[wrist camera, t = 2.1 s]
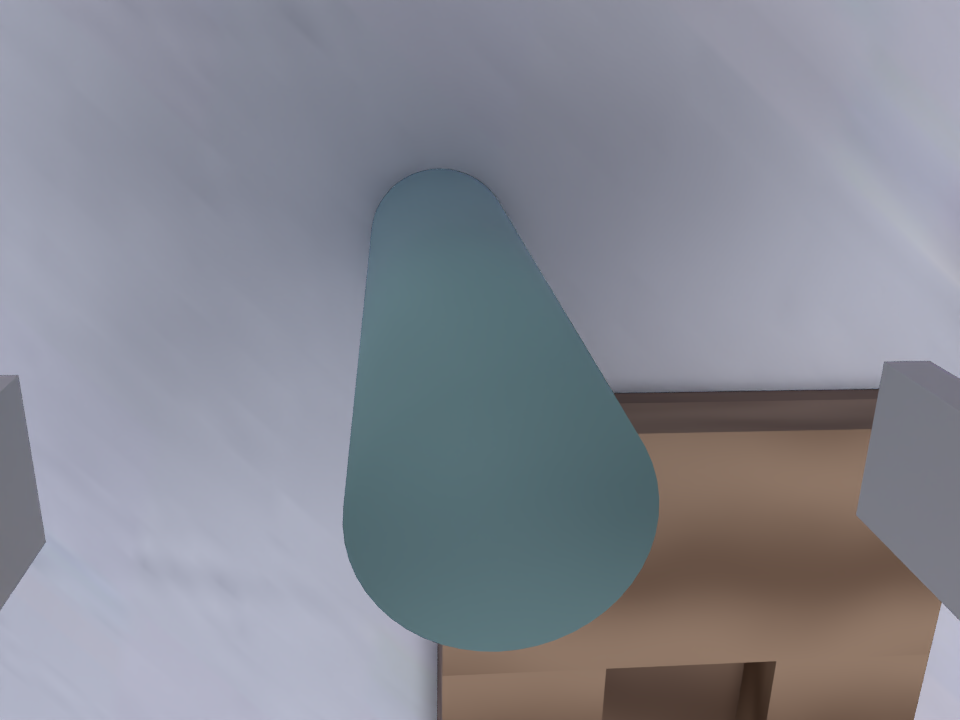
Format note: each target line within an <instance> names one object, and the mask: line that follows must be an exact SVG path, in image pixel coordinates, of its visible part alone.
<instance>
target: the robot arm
mask: <svg viewBox="0 0 960 720" xmlns="http://www.w3.org/2000/svg"><path fill="white" fill-rule="evenodd" d="M856 515H857V517H858V518H859V519H860V520H861V521H862V522H863V523H864V524H865V525H866V526H867V527H868V528H869V529H870V530H871V531H872V532H873V533H874V534H875V535H876V536H877V537H878V538H879V539H880V540H881V541H882V542H883V543H884V544H885V545H886V546H887V547H888V548H889V549H890V550H891V551H892V552H893V553H894V554H895V555H896V556H897V557H898V558H899V559H900V560H901V561H902V562H903V563H904V564H905V565H906V566H907V567H908V568H909V569H910V571H911V572H912V573H913V574H914V575H915V576H916V577H917V578H918V579H919V580H920V581H921V582H922V583H923V584H924V585H925V586H926V587H927V588H928V589H929V590H930V591H931V592H932V593H933V594H934V595H935V596H936V597H937V598H938V599H939V600H940V601H941V602H942V603H943V604H944V605H945V606H946V607H947V608H948V609H949V610H950V611H951V612H952V613H953V614H954V615H955V616H956V617H957V618H958V619H959V620H960V379H959V378H957V377H956V376H954V375H952V374H951V373H949V372H947V371H946V370H944V369H942V368H941V367H939V366H937V365H936V364H934V363H932V362H931V361H892V362H884V365H883V371H882V376H881V382H880V387H879V392H878V398H877V403H876V409H875V414H874V420H873V425H872V430H871V436H870V441H869V447H868V452H867V458H866V463H865V469H864V474H863V479H862V485H861V490H860V496H859V501H858V507H857V512H856ZM45 543H46V540H45V534H44V528H43V522H42V516H41V510H40V504H39V498H38V491H37V485H36V479H35V473H34V467H33V461H32V455H31V449H30V443H29V437H28V431H27V425H26V419H25V412H24V406H23V400H22V394H21V388H20V382H19V376H18V375H0V610H1V609H2V607H3V606H4V604H5V603H6V601H7V600H8V598H9V597H10V595H11V594H12V592H13V591H14V589H15V588H16V586H17V585H18V583H19V582H20V580H21V579H22V577H23V576H24V574H25V573H26V571H27V570H28V568H29V567H30V565H31V564H32V562H33V561H34V559H35V558H36V556H37V555H38V553H39V552H40V550H41V549H42V547H43V546H44V544H45Z"/></svg>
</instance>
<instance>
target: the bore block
mask: <svg viewBox="0 0 960 720" xmlns="http://www.w3.org/2000/svg"><path fill="white" fill-rule="evenodd" d="M878 392H879V389H869V390H805V391H741V392H677V393H614V395H615V397H616V398H617V400H618V402H619V403H620V405H621V407H622V408H623V410H624V412H625V413H626V415H627V417H628V418H629V420H630V422H631V423H632V425H633V427H634V428H635V430H636V432H637V433H638V435H639V437H640V439H641V440H642V442H643V444H644V445H645V447H646V449H647V452H648V454H649V456H650V458H651V461H652V463H653V467H654V470H655V474H656V478H657V483H658V491H659V518H658V523H657V529H656V534H655V537H654V540H653V544H652V547H651V550H650V552H649V554H648V556H647V559H646V561H645V563H644V565H643V567H642V569H641V570H640V572H639V573H638V575H637V576H636V578H635V579H634V581H633V583H632V584H631V585H630V586H629V587H628V589H627V590H626V591H625V592H624V593H623V595H622V596H621V597H620V598H619V599H618V600H617V601H616V602H615V603H614V604H613V605H612V606H611V607H609V608H608V609H607V610H606V611H605V612H604V613H602V614H601V615H600V616H598V617H597V618H596V619H594V620H593V621H591V622H590V623H588V624H587V625H585V626H583V627H581V628H580V629H578V630H576V631H575V632H573V633H570V634H568V635H566V636H564V637H561V638H559V639H557V640H554V641H551V642H548V643H545V644H541V645H538V646H534V647H529V648H524V649H519V650H511V651H500V652H488V651H472V650H464V649H458V648H454V647H450V646H445V645H441V644H439V643H438V674H437V720H914V716H915V712H916V708H917V704H918V699H919V695H920V691H921V687H922V683H923V678H924V674H925V670H926V666H927V662H928V657H929V653H930V649H931V645H932V641H933V636H934V632H935V628H936V624H937V620H938V615H939V611H940V607H941V603H942V602H941V601H940V600H939V599H938V598H937V597H936V596H935V595H934V594H933V593H932V592H931V591H930V590H929V589H928V588H927V587H926V586H925V585H924V584H923V583H922V582H921V581H920V580H919V579H918V578H917V577H916V576H915V575H914V574H913V573H912V572H911V571H910V569H909V568H908V567H907V566H906V565H905V564H904V563H903V562H902V561H901V560H900V559H899V558H898V557H897V556H896V555H895V554H894V553H893V552H892V551H891V550H890V549H889V548H888V547H887V546H886V545H885V544H884V543H883V542H882V541H881V540H880V539H879V538H878V537H877V536H876V535H875V534H874V533H873V532H872V531H871V530H870V529H869V528H868V527H867V526H866V525H865V524H864V523H863V522H862V521H861V520H860V519H859V518H858V517H857V515H856V512H857V507H858V501H859V496H860V490H861V485H862V479H863V474H864V469H865V463H866V458H867V452H868V447H869V441H870V436H871V430H872V425H873V420H874V414H875V409H876V403H877V398H878Z"/></svg>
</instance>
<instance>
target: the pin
mask: <svg viewBox="0 0 960 720" xmlns="http://www.w3.org/2000/svg"><path fill="white" fill-rule="evenodd" d="M658 518H659V491H658V483H657V478H656V474H655V470H654V467H653V463H652V461H651V458H650V456H649V454H648V452H647V449H646V447H645V445H644V444H643V442H642V440H641V439H640V437H639V435H638V433H637V432H636V430H635V428H634V427H633V425H632V423H631V422H630V420H629V418H628V417H627V415H626V413H625V412H624V410H623V408H622V407H621V405H620V403H619V402H618V400H617V398H616V397H615V395H614V393H613V392H612V390H611V388H610V387H609V385H608V383H607V382H606V380H605V378H604V377H603V375H602V373H601V372H600V370H599V368H598V367H597V365H596V363H595V362H594V360H593V358H592V357H591V355H590V353H589V352H588V350H587V348H586V347H585V345H584V343H583V342H582V340H581V338H580V337H579V335H578V333H577V332H576V330H575V328H574V327H573V325H572V323H571V322H570V320H569V318H568V317H567V315H566V313H565V312H564V310H563V308H562V307H561V305H560V303H559V302H558V300H557V298H556V297H555V295H554V293H553V292H552V290H551V288H550V287H549V285H548V283H547V282H546V280H545V278H544V277H543V275H542V273H541V272H540V270H539V268H538V267H537V265H536V263H535V262H534V260H533V258H532V257H531V255H530V253H529V252H528V250H527V248H526V247H525V245H524V243H523V242H522V240H521V238H520V237H519V235H518V233H517V232H516V230H515V228H514V227H513V225H512V223H511V221H510V220H509V218H508V216H507V215H506V213H505V211H504V210H503V208H502V206H501V205H500V203H499V202H498V200H497V198H496V197H495V196H494V194H493V193H492V192H491V191H490V190H489V189H488V188H487V187H486V186H485V185H484V184H483V183H481V182H480V181H478V180H477V179H475V178H474V177H472V176H470V175H468V174H465V173H462V172H459V171H455V170H450V169H430V170H425V171H421V172H418V173H415V174H412V175H410V176H408V177H406V178H404V179H403V180H401V181H400V182H398V183H397V184H396V185H395V186H394V187H393V188H391V189H390V191H389V192H388V193H387V194H386V195H385V196H384V198H383V199H382V201H381V203H380V204H379V206H378V208H377V210H376V213H375V216H374V219H373V224H372V230H371V239H370V249H369V259H368V269H367V279H366V289H365V299H364V309H363V318H362V328H361V338H360V348H359V358H358V368H357V378H356V388H355V398H354V407H353V417H352V427H351V437H350V447H349V457H348V467H347V477H346V486H345V496H344V506H343V532H344V541H345V546H346V550H347V553H348V557H349V561H350V563H351V565H352V568H353V570H354V572H355V575H356V577H357V579H358V580H359V582H360V583H361V585H362V587H363V588H364V590H365V591H366V593H367V594H368V595H369V597H370V598H371V599H372V600H373V601H374V602H375V604H376V605H377V606H378V607H379V608H380V609H381V610H382V611H383V612H385V613H386V614H387V615H388V616H389V617H390V618H391V619H392V620H394V621H395V622H397V623H398V624H400V625H401V626H403V627H404V628H406V629H407V630H409V631H411V632H413V633H415V634H417V635H419V636H421V637H423V638H425V639H428V640H430V641H433V642H436V643H439V644H441V645H445V646H450V647H454V648H458V649H464V650H472V651H488V652H500V651H511V650H519V649H524V648H529V647H534V646H538V645H541V644H545V643H548V642H551V641H554V640H557V639H559V638H561V637H564V636H566V635H568V634H570V633H573V632H575V631H576V630H578V629H580V628H581V627H583V626H585V625H587V624H588V623H590V622H591V621H593V620H594V619H596V618H597V617H598V616H600V615H601V614H602V613H604V612H605V611H606V610H607V609H608V608H609V607H611V606H612V605H613V604H614V603H615V602H616V601H617V600H618V599H619V598H620V597H621V596H622V595H623V593H624V592H625V591H626V590H627V589H628V587H629V586H630V585H631V584H632V583H633V581H634V579H635V578H636V576H637V575H638V573H639V572H640V570H641V569H642V567H643V565H644V563H645V561H646V559H647V556H648V554H649V552H650V550H651V547H652V544H653V540H654V537H655V534H656V529H657V523H658Z"/></svg>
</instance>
